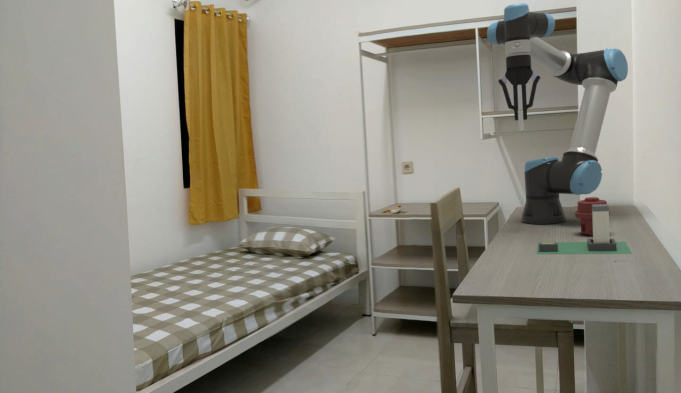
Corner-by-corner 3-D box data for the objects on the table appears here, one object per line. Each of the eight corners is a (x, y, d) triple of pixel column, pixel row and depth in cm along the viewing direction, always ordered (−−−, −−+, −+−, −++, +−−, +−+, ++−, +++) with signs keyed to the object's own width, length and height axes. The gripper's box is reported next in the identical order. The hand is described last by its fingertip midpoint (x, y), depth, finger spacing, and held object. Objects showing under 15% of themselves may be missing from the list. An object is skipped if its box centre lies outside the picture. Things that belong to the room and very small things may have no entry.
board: (538, 245, 186) (537, 235, 185) (625, 244, 178) (625, 233, 178) (537, 257, 171) (536, 246, 170) (632, 257, 163) (632, 245, 163)
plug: (593, 246, 174) (591, 204, 173) (608, 246, 173) (607, 203, 171) (594, 249, 170) (592, 206, 169) (610, 249, 169) (608, 206, 168)
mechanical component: (606, 233, 196) (613, 239, 186) (573, 234, 198) (578, 241, 188) (605, 195, 194) (612, 199, 185) (572, 196, 196) (577, 201, 187)
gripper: (495, 56, 192) (499, 132, 195) (539, 51, 188) (542, 129, 191) (497, 58, 199) (501, 131, 202) (540, 54, 195) (543, 128, 198)
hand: (521, 130), depth 196 cm, fingers closed
